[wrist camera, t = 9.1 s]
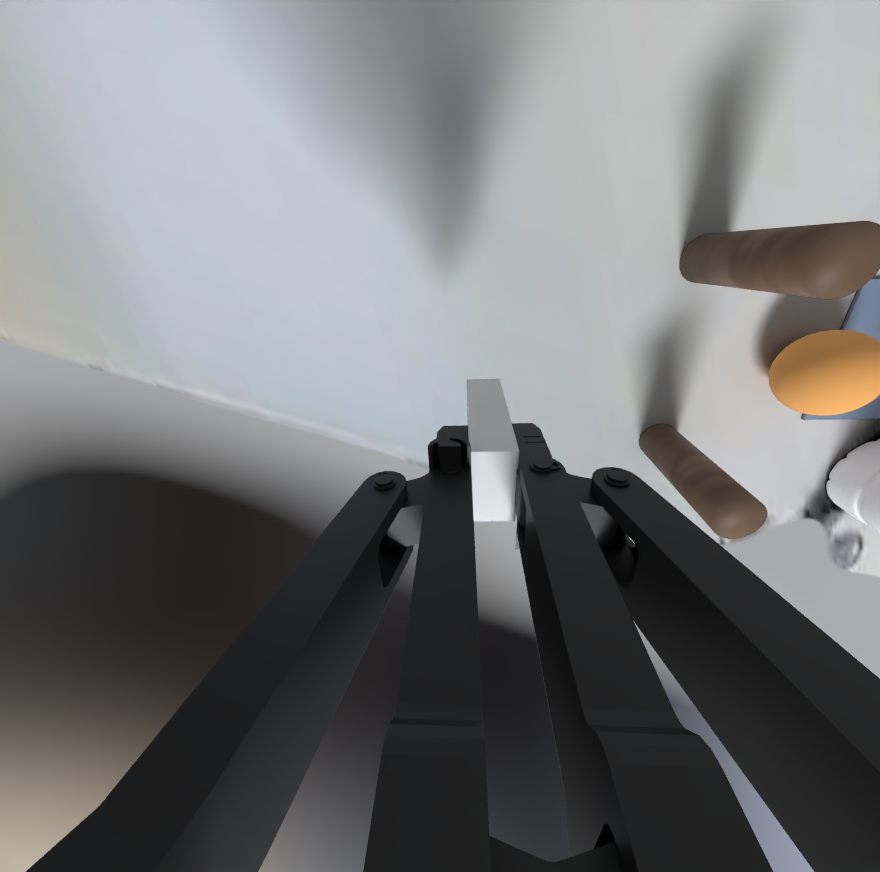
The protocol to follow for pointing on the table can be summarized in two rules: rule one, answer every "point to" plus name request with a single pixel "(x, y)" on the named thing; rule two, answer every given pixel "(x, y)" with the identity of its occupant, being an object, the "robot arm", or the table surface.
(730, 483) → the far post
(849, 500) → the water bottle
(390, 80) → the table surface
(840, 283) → the near post
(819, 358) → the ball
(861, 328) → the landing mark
